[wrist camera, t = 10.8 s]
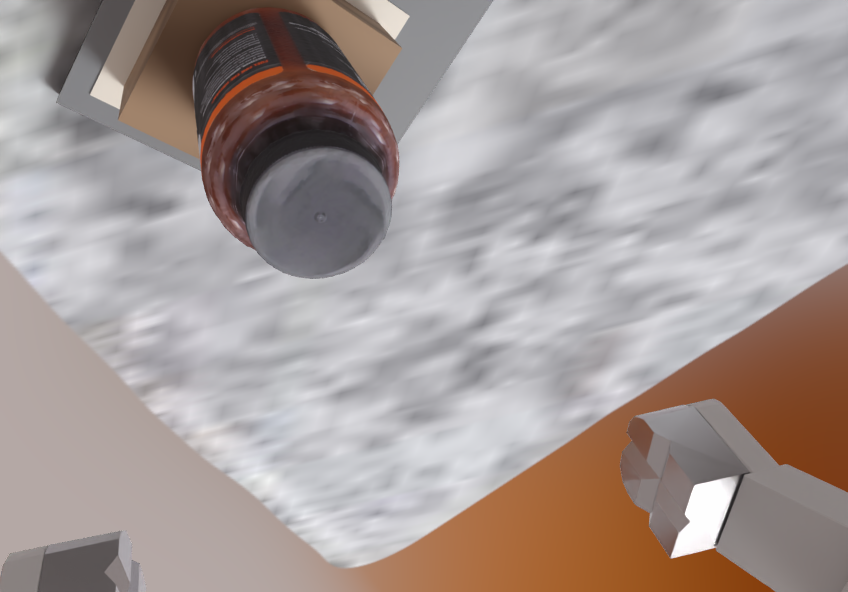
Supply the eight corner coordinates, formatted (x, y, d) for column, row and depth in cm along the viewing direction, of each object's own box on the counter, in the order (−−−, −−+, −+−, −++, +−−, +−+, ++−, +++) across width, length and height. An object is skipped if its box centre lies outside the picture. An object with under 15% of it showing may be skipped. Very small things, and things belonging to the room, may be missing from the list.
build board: (263, -348, 25) (266, -353, 24) (542, -91, 32) (553, -88, 31) (58, 94, 31) (55, 103, 30) (333, 225, 38) (337, 235, 37)
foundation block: (211, -91, 27) (216, -77, 24) (379, 23, 32) (402, 48, 28) (123, 86, 30) (117, 120, 27) (289, 170, 34) (301, 207, 31)
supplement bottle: (170, 124, 28) (170, 280, 19) (221, -26, 25) (248, 69, 16) (313, 174, 30) (371, 329, 21) (371, 42, 28) (463, 155, 19)
